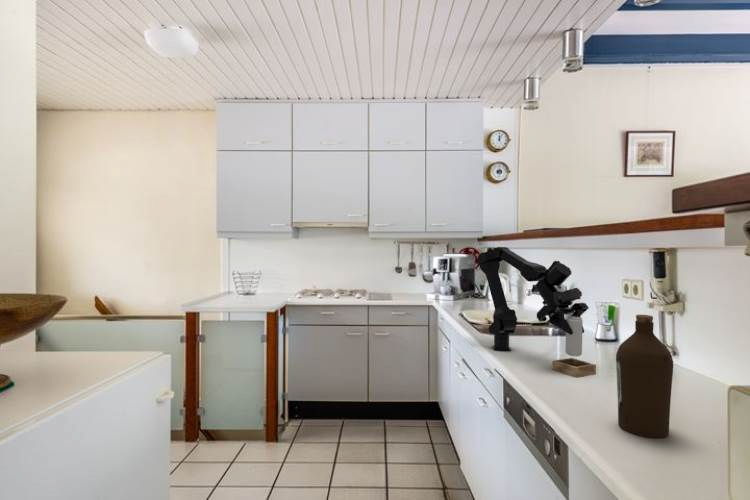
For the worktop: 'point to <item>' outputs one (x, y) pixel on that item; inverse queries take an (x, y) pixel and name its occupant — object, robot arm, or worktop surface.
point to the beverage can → (574, 336)
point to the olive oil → (644, 382)
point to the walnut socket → (574, 367)
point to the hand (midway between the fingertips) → (577, 333)
